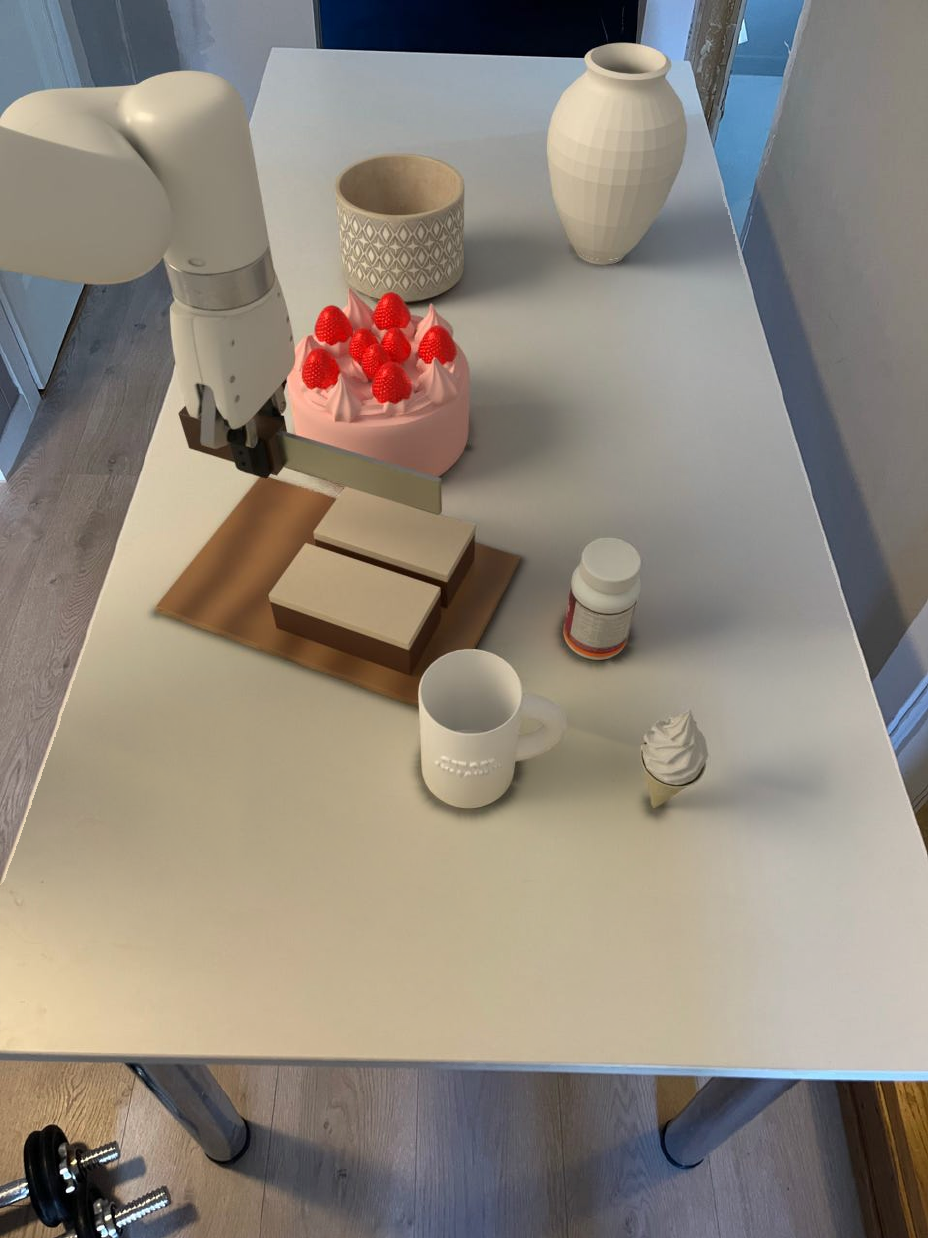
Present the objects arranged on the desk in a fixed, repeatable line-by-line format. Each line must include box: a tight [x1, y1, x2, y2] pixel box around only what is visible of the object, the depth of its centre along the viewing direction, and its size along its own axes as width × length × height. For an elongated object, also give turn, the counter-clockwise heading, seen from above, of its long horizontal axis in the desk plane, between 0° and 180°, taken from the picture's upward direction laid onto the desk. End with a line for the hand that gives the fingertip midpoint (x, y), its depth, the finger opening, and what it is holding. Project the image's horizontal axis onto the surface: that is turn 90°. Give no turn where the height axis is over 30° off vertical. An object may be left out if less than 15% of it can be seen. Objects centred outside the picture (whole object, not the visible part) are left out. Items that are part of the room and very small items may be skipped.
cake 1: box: [286, 288, 471, 488], centre depth 99 cm, size 20×20×14 cm
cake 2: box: [313, 487, 477, 609], centre depth 89 cm, size 14×7×5 cm, turn 67°
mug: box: [418, 648, 567, 809], centre depth 74 cm, size 8×12×12 cm
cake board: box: [155, 476, 520, 709], centre depth 90 cm, size 30×20×1 cm, turn 67°
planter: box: [334, 153, 465, 303], centre depth 120 cm, size 16×16×13 cm
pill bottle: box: [563, 537, 642, 661], centre depth 83 cm, size 6×6×11 cm
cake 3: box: [269, 543, 441, 676], centre depth 84 cm, size 14×7×5 cm, turn 67°
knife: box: [178, 404, 443, 515], centre depth 77 cm, size 24×3×4 cm, turn 67°
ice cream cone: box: [639, 709, 709, 809], centre depth 70 cm, size 5×5×15 cm
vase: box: [546, 42, 688, 266], centre depth 119 cm, size 18×18×25 cm
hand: (263, 458), depth 80 cm, fingers closed on knife, 2 cm apart
